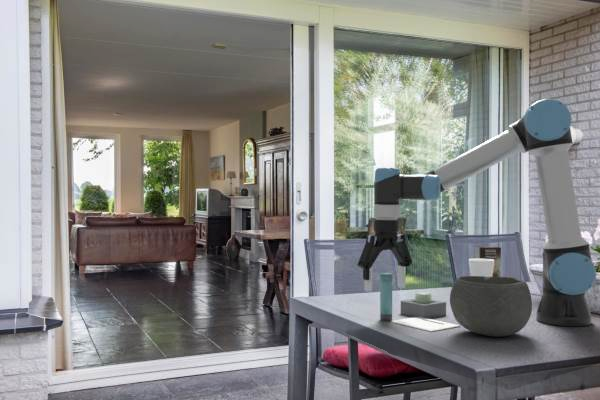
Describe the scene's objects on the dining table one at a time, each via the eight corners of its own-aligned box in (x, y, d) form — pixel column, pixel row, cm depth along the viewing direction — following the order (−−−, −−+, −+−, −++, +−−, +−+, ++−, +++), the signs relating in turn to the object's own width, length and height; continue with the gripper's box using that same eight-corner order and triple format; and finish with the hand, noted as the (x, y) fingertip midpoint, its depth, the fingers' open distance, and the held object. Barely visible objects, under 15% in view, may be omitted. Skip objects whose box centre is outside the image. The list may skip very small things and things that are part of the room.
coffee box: (479, 285, 255) (479, 247, 255) (474, 283, 262) (474, 246, 262) (501, 285, 256) (501, 247, 256) (495, 283, 262) (495, 246, 262)
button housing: (446, 314, 192) (446, 302, 192) (423, 318, 186) (423, 305, 186) (422, 310, 200) (422, 297, 200) (400, 313, 195) (400, 300, 194)
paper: (460, 326, 175) (460, 325, 175) (431, 331, 168) (431, 330, 168) (419, 317, 188) (419, 316, 188) (390, 322, 181) (390, 320, 181)
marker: (395, 320, 184) (395, 273, 184) (385, 321, 181) (385, 274, 181) (386, 318, 187) (386, 272, 187) (377, 319, 185) (377, 273, 184)
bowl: (454, 342, 156) (454, 283, 156) (446, 325, 177) (446, 273, 177) (540, 345, 154) (540, 285, 153) (521, 327, 174) (521, 274, 174)
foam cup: (463, 293, 235) (463, 259, 235) (477, 290, 241) (477, 257, 241) (486, 296, 228) (486, 261, 228) (498, 293, 234) (498, 259, 234)
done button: (434, 309, 193) (434, 293, 193) (423, 311, 190) (423, 295, 190) (422, 307, 197) (422, 291, 197) (411, 309, 194) (411, 293, 194)
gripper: (406, 217, 194) (405, 284, 194) (346, 218, 180) (345, 290, 180) (424, 218, 188) (423, 287, 188) (363, 220, 174) (362, 294, 174)
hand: (385, 289), depth 184 cm, fingers open, 13 cm apart
